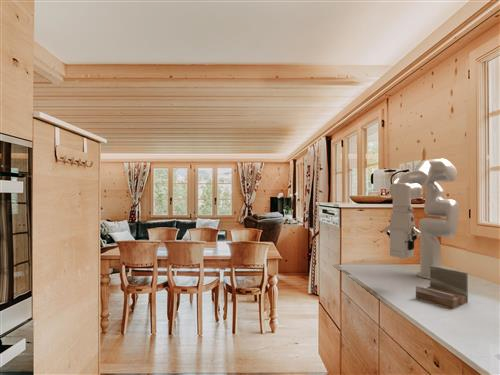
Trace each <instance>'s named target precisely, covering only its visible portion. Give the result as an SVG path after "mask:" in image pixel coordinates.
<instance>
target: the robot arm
mask: <svg viewBox="0 0 500 375" xmlns="http://www.w3.org/2000/svg"><path fill="white" fill-rule="evenodd" d="M457 177H458V170H457V168H456V166H455V165H453V164H452V163H451V162H450V161H449V160H447V159H445V158H435V159H434V158H432V159H424V160H422V161H421V160H420V162H419V163H417V165H416V166H415V168H414V169H413V170H412V171H410V172H408V173H405V174H403V175H400V176H399V177H396V179H395V180H393V181H392V183H391V184H390V187H389V190H388V192H389V195H390V197H392V212H391V215H390V220H389V225H388V226H386V227H385V228H384V229H383V230H384V232H385V233H386V235H387V236H388V238H389V239H390V229H399V230H406V231H407V235H408V238H409V240H410V241H408V249H409V250H413V249H415V241H416V240H417V239H418V238H419V239H420V248H419V249H420V252H419V253H420V254H419V255H420V259H419V260H420V261H419V262H420V263H419V264H420V268H419V269H420V270H419V271H418V272H417V273H416V275H417V276H418V277H419V278H422V279H427V280H430V266H436V267H441V268H442V246H441V242H440V239H438V237H440V238H441V237H442V238H454V237H455V236H456V235H457V232H458V225H459V224H458V223H459V216H460V206H459V203H458V201H456V200H455V199H451V198H445V197H444V196H445V190H444V188H443V187H442V186H441V185H440V184H439V183H441V182H443V183H445V182H446V183H448V182H454V181H456V180H457ZM422 186H424V188H425V200H424V207H423V211H424V214H425V215H427V216H430V217H424V218H421V219H420V220H419V221H418V229H417V228H416V224H415V222H416V221H415V216H414V213H412V212H414V211H415V208H414V207H412V200H415V199H416V200H417V199H419V198H421V197H422V195H423V193H424V189H423V187H422ZM438 217H439V218H438ZM441 217H442V218H441ZM412 230H413V233H411V232H412ZM413 235H414V236H413Z"/></svg>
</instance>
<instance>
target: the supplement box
mask: <svg viewBox="0 0 500 375" xmlns="http://www.w3.org/2000/svg"><path fill="white" fill-rule="evenodd" d="M389 231H390V238H389V256H390V257H394V258H399V259H402V260H403V259H408V258H410V259H411V258H414V257H415V250H414V249H415V248H414V249H413V250H409V249H408V241H410V240H409V238H408V235H407V231H406V230H399V229H389ZM411 233H413V230H412V232H411ZM413 236H415V234H414V235H413Z"/></svg>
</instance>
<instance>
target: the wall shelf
mask: <svg viewBox="0 0 500 375" xmlns="http://www.w3.org/2000/svg"><path fill="white" fill-rule="evenodd" d="M468 275H469V274H468V272H467V271H461V270H455V269H451V268H445V267H442V266H441V267H436V266H430V279H429V280H430V281H429V286H428V287H425V286H419V285H416V286H415V298H416V299H417V300H421V301H425V302H428V303H431V304H435V305H438V306H441V307H446V308H448V309H455V308H458V307H459V306H461V305H464V304H466V303H468V301H469V300H468V299H469V297H468V296H469V293H468V290H469V289H468V287H469V286H468V284H469V282H468V281H469V280H468V279H469V276H468Z"/></svg>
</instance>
